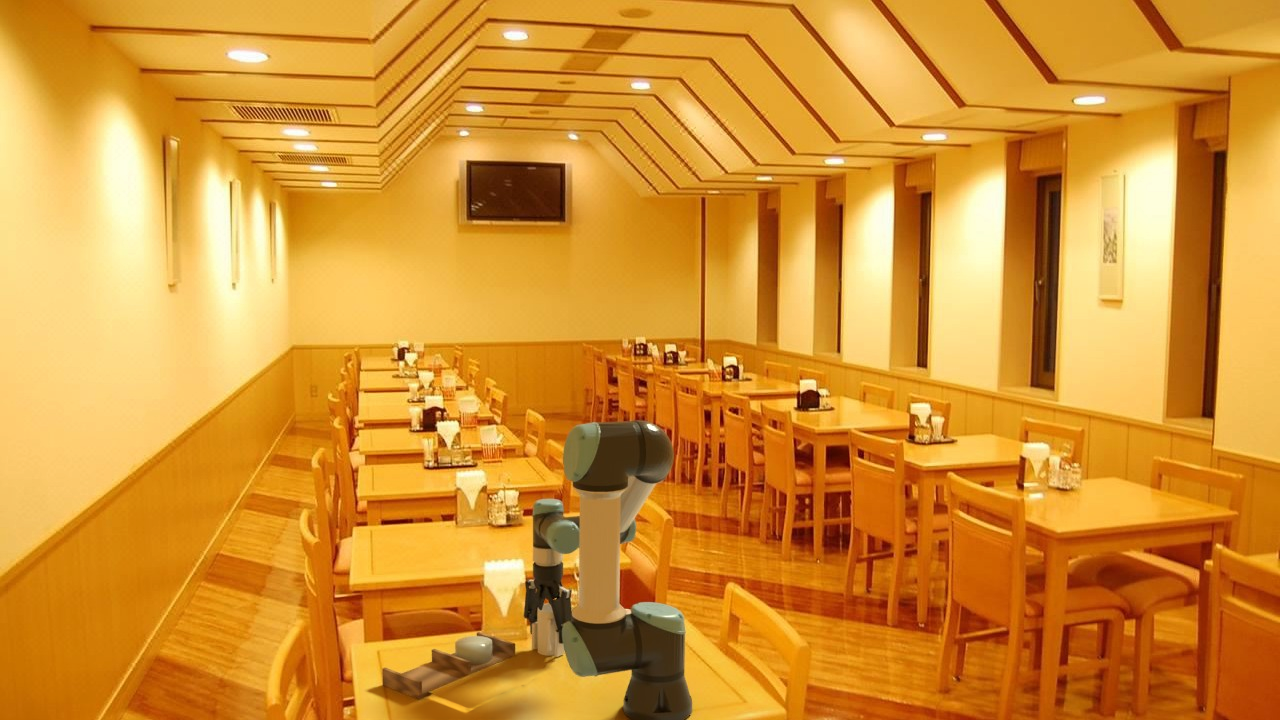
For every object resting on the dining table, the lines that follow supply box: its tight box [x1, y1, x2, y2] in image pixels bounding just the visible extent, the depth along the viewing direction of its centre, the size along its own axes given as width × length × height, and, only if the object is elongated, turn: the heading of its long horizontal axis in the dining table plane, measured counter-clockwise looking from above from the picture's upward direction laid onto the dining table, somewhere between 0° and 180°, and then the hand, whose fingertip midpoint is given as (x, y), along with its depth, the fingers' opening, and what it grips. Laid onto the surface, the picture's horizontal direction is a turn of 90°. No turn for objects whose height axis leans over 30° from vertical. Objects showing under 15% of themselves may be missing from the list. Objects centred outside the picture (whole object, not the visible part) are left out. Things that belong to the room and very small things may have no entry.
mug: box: [537, 602, 562, 656], centre depth 253 cm, size 10×7×12 cm, turn 0°
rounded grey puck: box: [454, 635, 492, 666], centre depth 249 cm, size 9×9×4 cm
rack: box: [381, 631, 516, 701], centre depth 244 cm, size 13×30×4 cm, turn 142°
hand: (548, 651), depth 254 cm, fingers closed on mug, 7 cm apart
